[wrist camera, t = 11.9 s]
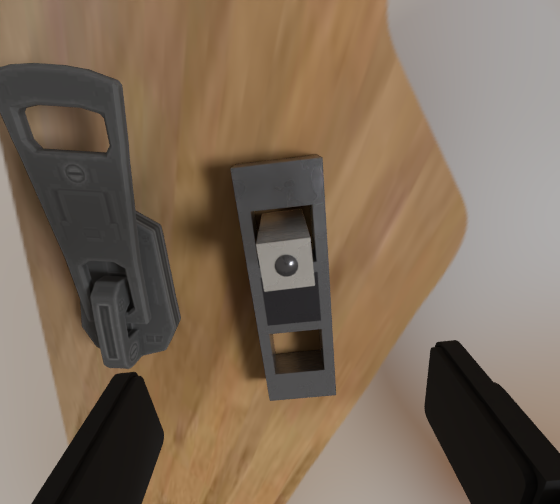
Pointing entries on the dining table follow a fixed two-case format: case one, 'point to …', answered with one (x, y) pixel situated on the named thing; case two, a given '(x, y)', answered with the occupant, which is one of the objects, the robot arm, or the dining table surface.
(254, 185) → the rail
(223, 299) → the dining table surface
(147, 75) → the dining table surface
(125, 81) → the dining table surface
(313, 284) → the grey tall square block
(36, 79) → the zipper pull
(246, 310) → the dining table surface
